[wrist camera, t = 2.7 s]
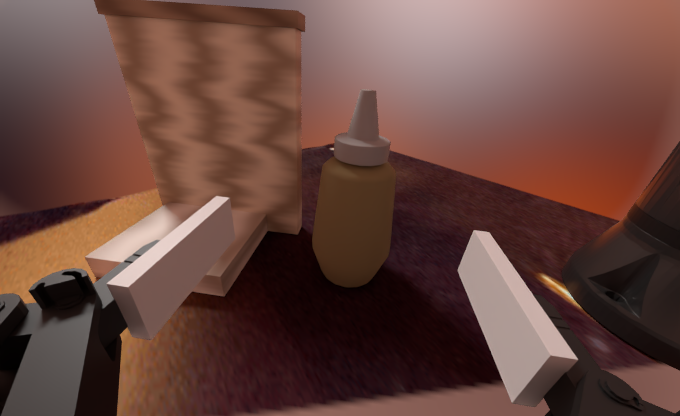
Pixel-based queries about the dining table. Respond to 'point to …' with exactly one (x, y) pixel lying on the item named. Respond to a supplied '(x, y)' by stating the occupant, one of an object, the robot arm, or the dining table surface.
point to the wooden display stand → (212, 121)
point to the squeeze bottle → (355, 201)
